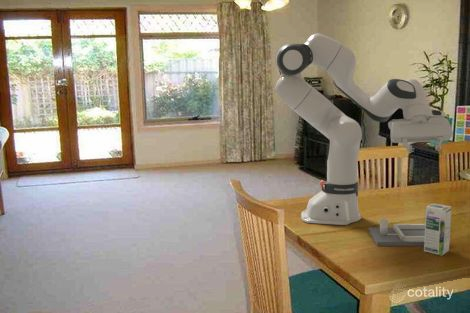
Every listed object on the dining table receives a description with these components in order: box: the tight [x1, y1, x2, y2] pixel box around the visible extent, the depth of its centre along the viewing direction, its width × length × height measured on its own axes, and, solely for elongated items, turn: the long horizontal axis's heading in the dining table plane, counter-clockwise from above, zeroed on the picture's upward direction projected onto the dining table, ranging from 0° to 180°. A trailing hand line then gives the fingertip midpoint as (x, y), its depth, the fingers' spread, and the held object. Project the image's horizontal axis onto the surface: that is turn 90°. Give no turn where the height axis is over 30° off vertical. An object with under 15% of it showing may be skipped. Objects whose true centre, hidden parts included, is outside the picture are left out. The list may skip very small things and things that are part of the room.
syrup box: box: [423, 203, 452, 257], centre depth 143 cm, size 6×6×14 cm
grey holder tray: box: [368, 218, 425, 247], centre depth 155 cm, size 21×14×6 cm, turn 85°
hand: (424, 150), depth 159 cm, fingers open, 8 cm apart
